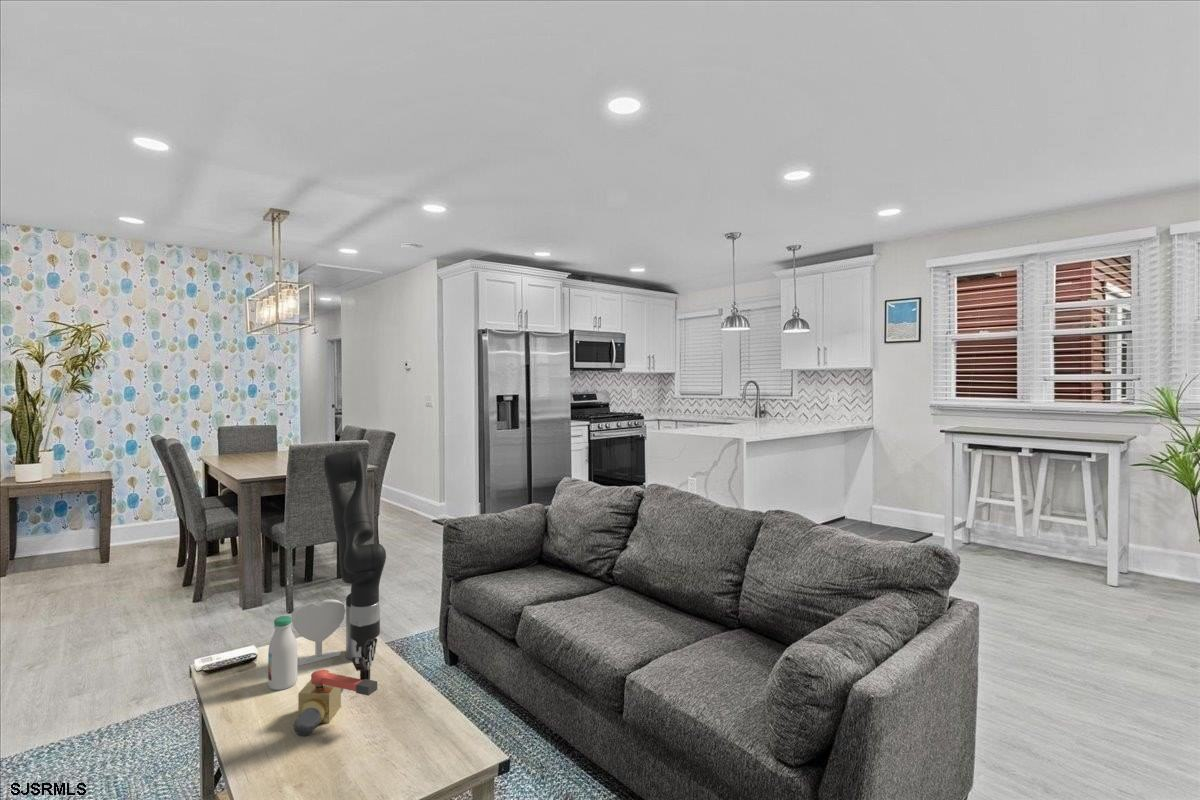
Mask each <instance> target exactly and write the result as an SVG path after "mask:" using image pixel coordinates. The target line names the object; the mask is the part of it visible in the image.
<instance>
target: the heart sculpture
mask: <svg viewBox="0 0 1200 800" xmlns="http://www.w3.org/2000/svg"><path fill="white" fill-rule="evenodd" d="M345 615H346V607H345V604H343V602H341V601H340V600H338V599H324V600H322V601H321V602H319V603H318V604H316V603H313V602H308V603H305V604H303V605H300V606H297V607H296V608H295V609H294V610H293V611H292V614H291V619H292V621H291V624H292V627H293V629H294V630H295V631H296V632H297V633H298V634H299V636H301V637H302V638H304V639H306V640H307V641H312V642H315V654H313V655H309V656H305V657H300V658H297V665H300V666H302V665H307V664H311V663H314V662H318V661H323V660H327V659H330V658H334V657H338V656H340V655H341V651H340V650H336V649H333V650H329V651H325V652H323V642H324V641H325V640H326V639H328V638H329V637H330V636H331V635H333V633H334V632H336V630H338V629H339V628H340V626H341V624H342V623H343V621H344V618H345Z"/></svg>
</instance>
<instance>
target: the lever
mask: <svg viewBox="0 0 1200 800" xmlns="http://www.w3.org/2000/svg"><path fill="white" fill-rule="evenodd" d="M310 678H311V679H310V680H311V683H312V684H314V685H320V684H324V685H329V686H333V687H338V688H342V689H343V690H348V691H351V692H355V693H356V694H358V695H363V696H370V695H372V694H374V693H375V692H376V691H377V690H378V681H376V680H372V679H370V680H368V679H364V680H362V679H360V678H356V677H352V676H346V675H342V674H338V673H332V672H330V671H329V670H327V669H317V670H315V671H313V672H312V673H311V677H310Z"/></svg>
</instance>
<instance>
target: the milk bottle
mask: <svg viewBox="0 0 1200 800" xmlns="http://www.w3.org/2000/svg"><path fill="white" fill-rule="evenodd" d="M273 620H274V621H273V624H274V626H273V627H274V632H273V635H272V637H271V640H270V642H269V646H268V656H267V657H268V659H267V660H268V663H267V664H268V665H267V666H268V667H267V668H268V669H267V671H268V672H267V673H268V674H267V675H268V677H267V679H268V681H267V683H268V688H269V689H271V690H273V691H282V690H287V689H289V688H291V687H294V685H296V684H297V682H298V664H297V660H298V643H297V638H296V636H295V634H294V633H293V631H292V627H291V626H292V616H289V615H283V616H278V617H276V618H275V619H273Z"/></svg>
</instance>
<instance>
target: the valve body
mask: <svg viewBox="0 0 1200 800" xmlns="http://www.w3.org/2000/svg"><path fill="white" fill-rule="evenodd" d="M343 691H344V689H342V688H338V687H333V686H329V685H324V684H320V685H314V684H312V683H311V679H309V681H308V682H307V683H306V684H305V686H304V687H303V688H302V689H301V690H300V691H299V692H298V693H297V694H298V696H297V697H298V699H297V700H298V709H297V710H298V711H297V712H298V718H296V720H295V721H294V724H293V730H294V732H295V733H296V734H297V735H298V736H300V737H307V736H309V735H310V734H312V733H313V731H314V730H315V729H316V727H317V726H318V725H319V724H330V722H331V721H332V720H333V718H334V717H335V716H336V714H337V713H338V712H339V710H340V709H341V707H342V705H341V704H342V698H341V697H342V693H343Z"/></svg>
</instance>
